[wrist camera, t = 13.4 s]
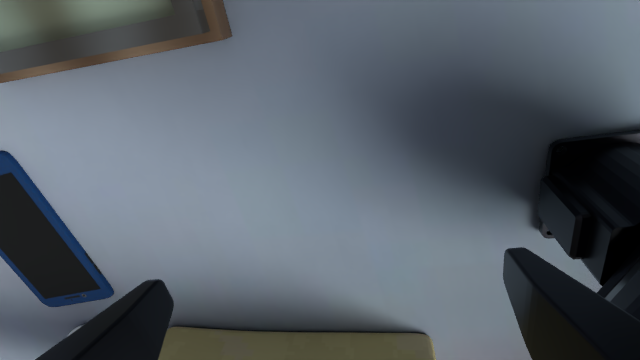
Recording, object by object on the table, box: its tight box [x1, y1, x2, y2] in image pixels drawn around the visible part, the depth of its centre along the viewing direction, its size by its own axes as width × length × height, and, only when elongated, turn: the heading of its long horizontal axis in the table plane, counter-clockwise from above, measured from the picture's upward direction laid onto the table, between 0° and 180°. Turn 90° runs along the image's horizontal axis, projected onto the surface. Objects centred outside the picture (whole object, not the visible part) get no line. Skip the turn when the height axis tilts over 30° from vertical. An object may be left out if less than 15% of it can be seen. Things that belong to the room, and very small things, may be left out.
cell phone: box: [0, 151, 114, 307], centre depth 28 cm, size 7×14×1 cm, turn 18°
